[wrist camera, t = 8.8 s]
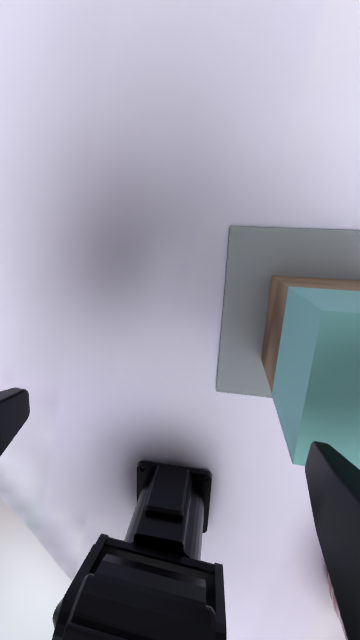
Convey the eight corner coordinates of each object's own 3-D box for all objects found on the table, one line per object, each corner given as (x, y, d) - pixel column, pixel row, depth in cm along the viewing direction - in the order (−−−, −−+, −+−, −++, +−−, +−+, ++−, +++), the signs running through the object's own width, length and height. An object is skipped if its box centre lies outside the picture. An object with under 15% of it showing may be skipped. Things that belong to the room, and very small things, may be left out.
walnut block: (350, 367, 19) (391, 409, 14) (261, 359, 20) (272, 395, 15) (370, 281, 18) (423, 295, 13) (272, 275, 18) (288, 286, 14)
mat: (384, 407, 20) (387, 411, 20) (216, 388, 22) (216, 391, 21) (432, 233, 17) (437, 233, 16) (230, 226, 18) (230, 225, 18)
